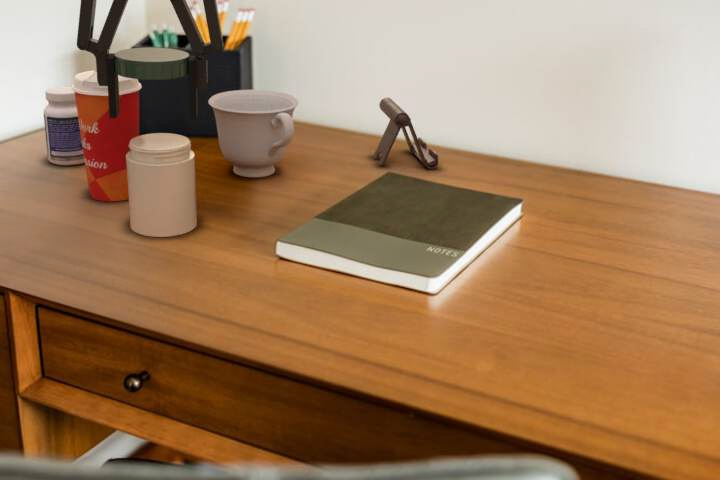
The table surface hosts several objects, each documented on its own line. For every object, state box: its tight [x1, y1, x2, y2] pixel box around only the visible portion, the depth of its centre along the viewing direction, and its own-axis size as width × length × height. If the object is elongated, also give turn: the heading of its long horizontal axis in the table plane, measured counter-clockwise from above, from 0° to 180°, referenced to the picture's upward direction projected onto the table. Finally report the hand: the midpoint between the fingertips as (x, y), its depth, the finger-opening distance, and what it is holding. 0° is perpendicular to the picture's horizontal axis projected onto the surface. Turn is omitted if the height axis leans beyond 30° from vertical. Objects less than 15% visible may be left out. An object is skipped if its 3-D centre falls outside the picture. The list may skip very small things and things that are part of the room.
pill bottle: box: [43, 86, 85, 166], centre depth 123 cm, size 6×6×10 cm
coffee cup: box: [70, 69, 143, 202], centre depth 111 cm, size 8×8×15 cm
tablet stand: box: [373, 97, 439, 170], centre depth 129 cm, size 9×8×8 cm
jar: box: [126, 132, 198, 238], centre depth 103 cm, size 8×8×10 cm
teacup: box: [207, 89, 300, 178], centre depth 121 cm, size 12×15×10 cm
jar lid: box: [114, 47, 190, 81], centre depth 97 cm, size 8×8×2 cm
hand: (154, 115), depth 99 cm, fingers closed on jar lid, 8 cm apart
